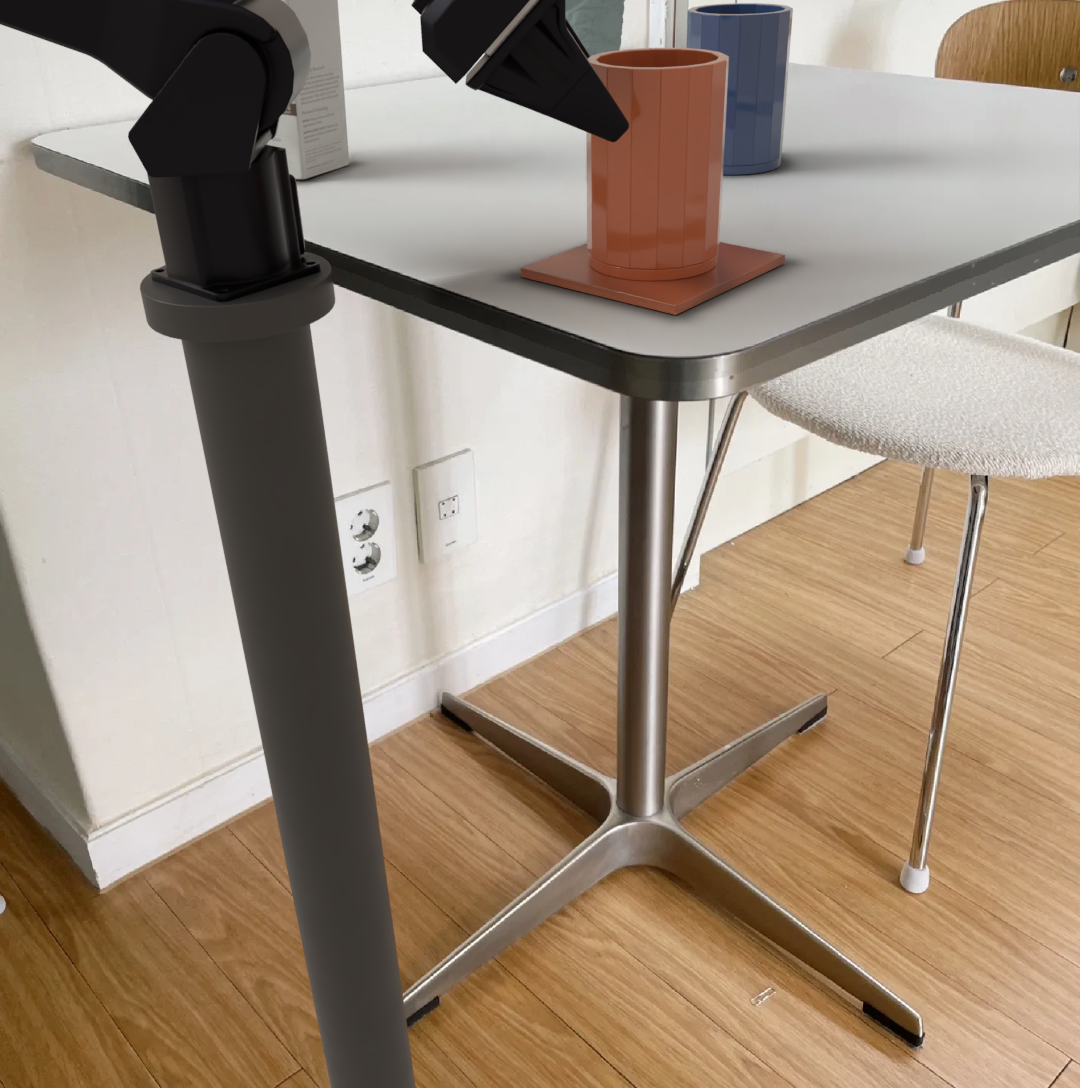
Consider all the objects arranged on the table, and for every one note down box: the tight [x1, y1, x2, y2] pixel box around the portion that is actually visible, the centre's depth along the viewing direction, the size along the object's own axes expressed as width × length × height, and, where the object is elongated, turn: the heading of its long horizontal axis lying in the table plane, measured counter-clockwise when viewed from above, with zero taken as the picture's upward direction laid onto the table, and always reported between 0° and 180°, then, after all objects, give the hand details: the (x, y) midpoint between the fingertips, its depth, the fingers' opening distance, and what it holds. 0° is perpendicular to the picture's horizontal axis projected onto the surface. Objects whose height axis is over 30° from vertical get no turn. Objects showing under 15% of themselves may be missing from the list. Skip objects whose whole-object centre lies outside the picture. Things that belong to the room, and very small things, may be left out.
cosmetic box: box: [266, 0, 350, 180], centre depth 80 cm, size 8×6×15 cm
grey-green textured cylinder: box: [566, 0, 626, 56], centre depth 112 cm, size 10×10×12 cm
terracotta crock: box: [585, 47, 729, 281], centre depth 58 cm, size 7×7×10 cm
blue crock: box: [685, 2, 794, 176], centre depth 79 cm, size 7×7×10 cm
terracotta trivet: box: [519, 241, 786, 316], centre depth 61 cm, size 10×10×1 cm
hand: (613, 115), depth 57 cm, fingers open, 9 cm apart
